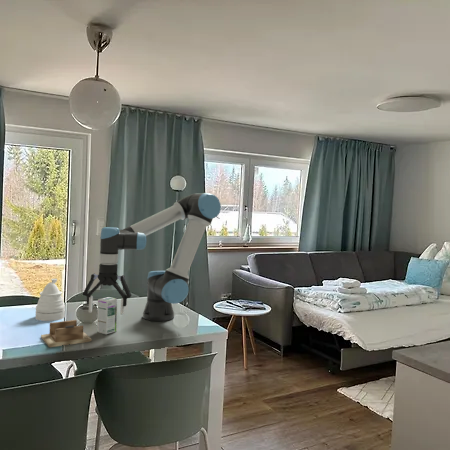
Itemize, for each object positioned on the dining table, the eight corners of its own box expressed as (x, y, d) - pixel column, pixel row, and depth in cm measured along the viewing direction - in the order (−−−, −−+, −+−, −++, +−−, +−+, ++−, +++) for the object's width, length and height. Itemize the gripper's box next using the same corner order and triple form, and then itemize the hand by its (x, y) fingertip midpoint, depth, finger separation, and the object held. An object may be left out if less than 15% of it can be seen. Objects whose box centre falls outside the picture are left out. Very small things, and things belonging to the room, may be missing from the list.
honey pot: (50, 312, 213) (50, 276, 213) (70, 316, 208) (71, 279, 208) (29, 318, 202) (30, 280, 201) (50, 322, 197) (51, 283, 196)
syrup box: (106, 334, 182) (107, 300, 181) (96, 332, 185) (97, 298, 184) (116, 331, 187) (117, 298, 186) (106, 329, 190) (107, 296, 189)
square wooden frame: (81, 332, 184) (81, 316, 184) (91, 341, 173) (91, 324, 172) (41, 337, 175) (41, 321, 175) (49, 347, 164) (49, 330, 163)
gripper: (139, 264, 188) (137, 312, 189) (82, 260, 188) (80, 309, 189) (135, 266, 181) (133, 316, 182) (76, 262, 181) (74, 313, 182)
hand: (106, 312), depth 185 cm, fingers open, 13 cm apart
